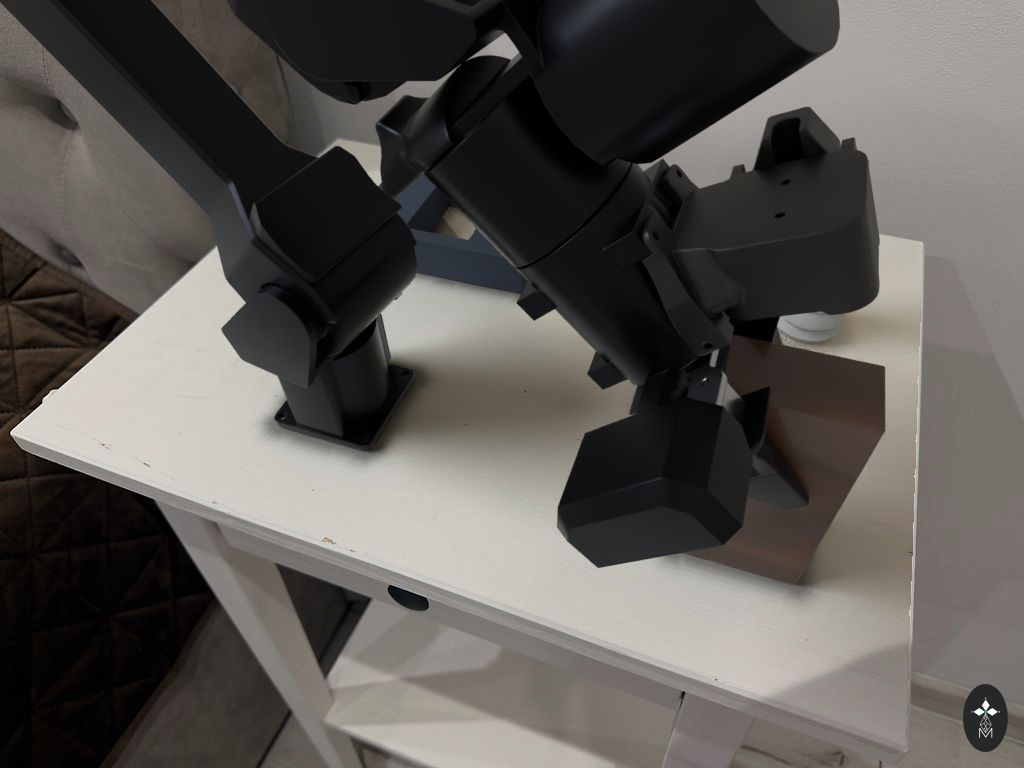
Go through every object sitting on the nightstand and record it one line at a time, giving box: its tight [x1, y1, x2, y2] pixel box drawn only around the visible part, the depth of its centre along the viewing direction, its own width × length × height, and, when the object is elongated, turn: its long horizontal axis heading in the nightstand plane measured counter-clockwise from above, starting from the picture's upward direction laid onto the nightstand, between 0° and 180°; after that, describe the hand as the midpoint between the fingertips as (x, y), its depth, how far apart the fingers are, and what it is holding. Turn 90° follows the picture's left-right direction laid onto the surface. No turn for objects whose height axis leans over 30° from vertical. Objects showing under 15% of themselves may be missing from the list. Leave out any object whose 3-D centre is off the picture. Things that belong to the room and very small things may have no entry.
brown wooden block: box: [683, 334, 886, 586], centre depth 31 cm, size 4×6×12 cm, turn 70°
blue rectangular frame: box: [377, 173, 528, 295], centre depth 53 cm, size 10×14×3 cm
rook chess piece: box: [777, 312, 846, 344], centre depth 44 cm, size 4×4×8 cm
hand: (801, 470), depth 31 cm, fingers closed on brown wooden block, 3 cm apart
